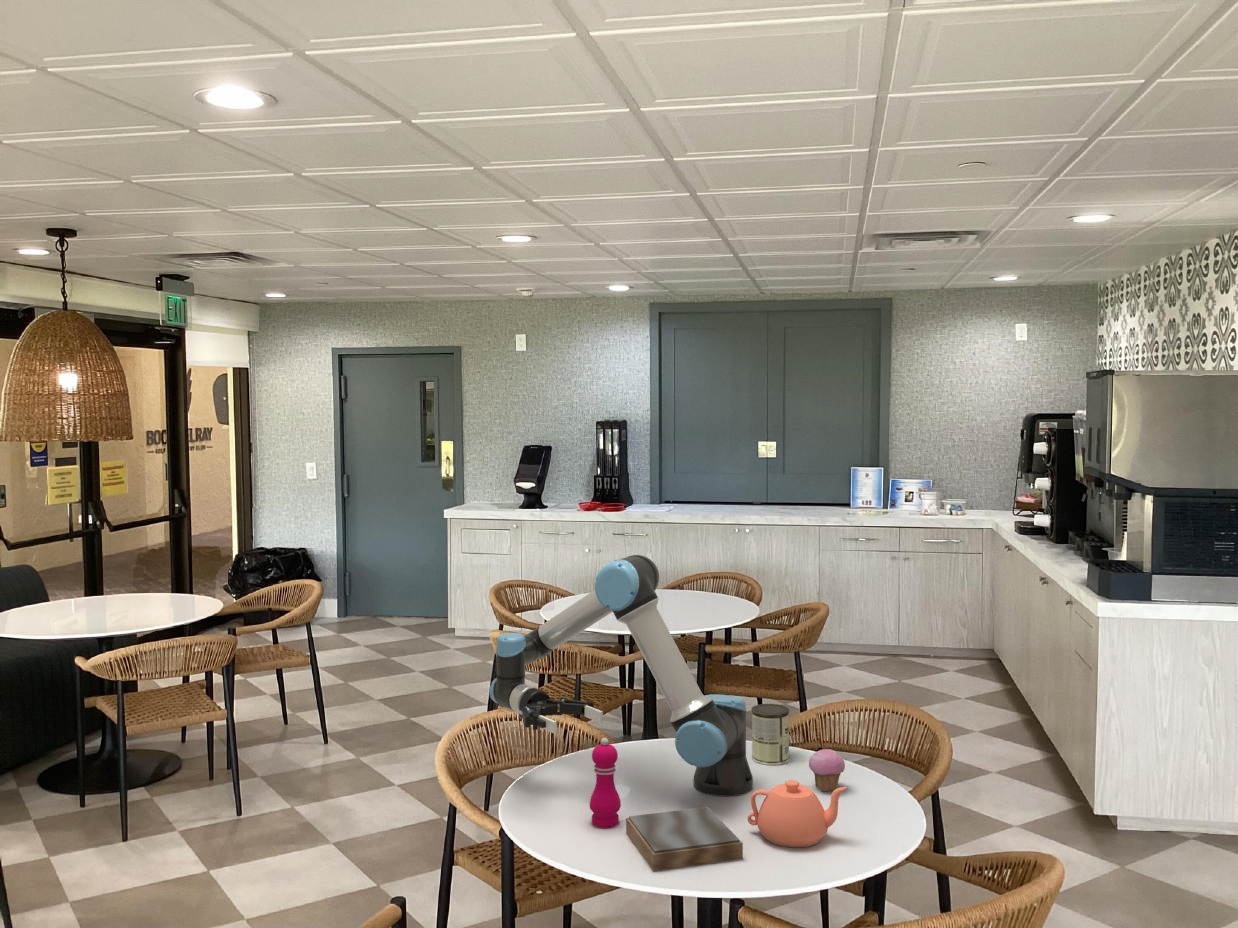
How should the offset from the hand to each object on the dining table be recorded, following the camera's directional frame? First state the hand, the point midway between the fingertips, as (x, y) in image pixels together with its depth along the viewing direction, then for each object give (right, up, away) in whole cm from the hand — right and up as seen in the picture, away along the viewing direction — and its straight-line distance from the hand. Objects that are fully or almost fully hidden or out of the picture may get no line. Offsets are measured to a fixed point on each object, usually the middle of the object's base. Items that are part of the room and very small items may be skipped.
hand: (578, 722), depth 237 cm
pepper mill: (+6, -22, -7) cm, 24 cm away
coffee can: (+51, -20, +36) cm, 66 cm away
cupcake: (+62, -21, +13) cm, 67 cm away
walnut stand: (+24, -22, -20) cm, 38 cm away
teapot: (+49, -22, -15) cm, 56 cm away
